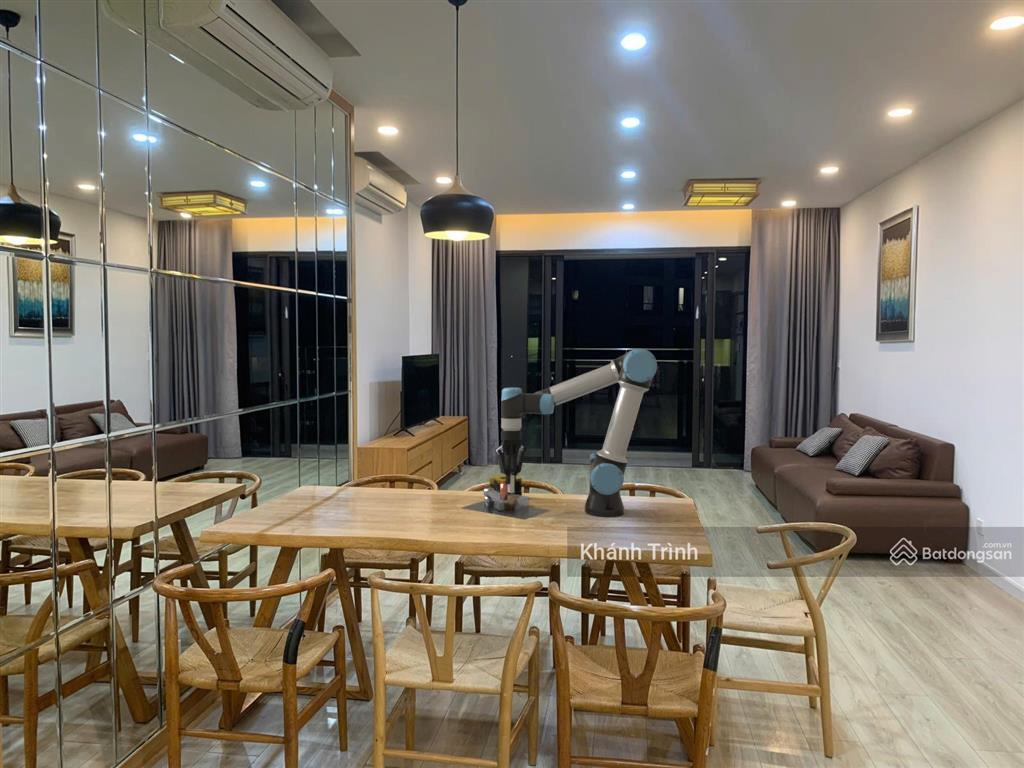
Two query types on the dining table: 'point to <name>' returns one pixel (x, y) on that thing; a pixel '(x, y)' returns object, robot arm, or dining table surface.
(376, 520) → the dining table surface
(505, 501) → the lever
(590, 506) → the robot arm
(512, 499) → the walnut
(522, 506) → the gray mechanism base plate
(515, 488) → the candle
